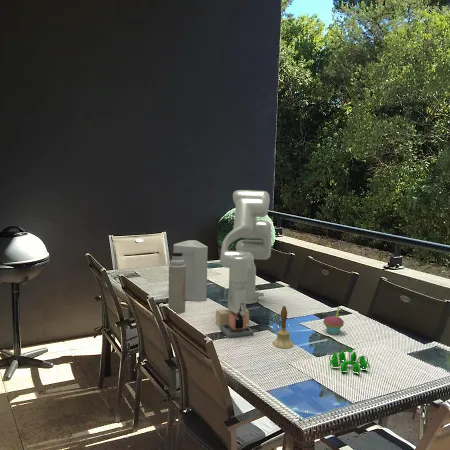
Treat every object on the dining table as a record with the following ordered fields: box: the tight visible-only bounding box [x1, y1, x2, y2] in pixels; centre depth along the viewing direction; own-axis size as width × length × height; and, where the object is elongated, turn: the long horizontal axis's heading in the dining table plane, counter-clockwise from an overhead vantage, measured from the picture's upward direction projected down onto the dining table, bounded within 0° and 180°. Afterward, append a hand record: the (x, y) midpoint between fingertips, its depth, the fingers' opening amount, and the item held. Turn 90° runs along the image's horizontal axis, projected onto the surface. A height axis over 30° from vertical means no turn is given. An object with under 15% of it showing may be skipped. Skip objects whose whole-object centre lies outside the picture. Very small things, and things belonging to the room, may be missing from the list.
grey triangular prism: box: [172, 239, 209, 303], centre depth 261 cm, size 19×15×28 cm
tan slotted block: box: [215, 308, 250, 328], centre depth 225 cm, size 14×5×6 cm, turn 111°
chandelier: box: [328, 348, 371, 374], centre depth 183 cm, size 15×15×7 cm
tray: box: [219, 324, 254, 339], centre depth 215 cm, size 11×11×2 cm
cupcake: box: [322, 306, 345, 335], centre depth 217 cm, size 9×8×12 cm
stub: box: [229, 311, 248, 330], centre depth 215 cm, size 6×5×6 cm
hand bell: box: [272, 305, 294, 350], centre depth 202 cm, size 8×8×16 cm
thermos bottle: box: [167, 252, 186, 314], centre depth 239 cm, size 8×8×28 cm
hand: (236, 325), depth 215 cm, fingers closed on stub, 4 cm apart
